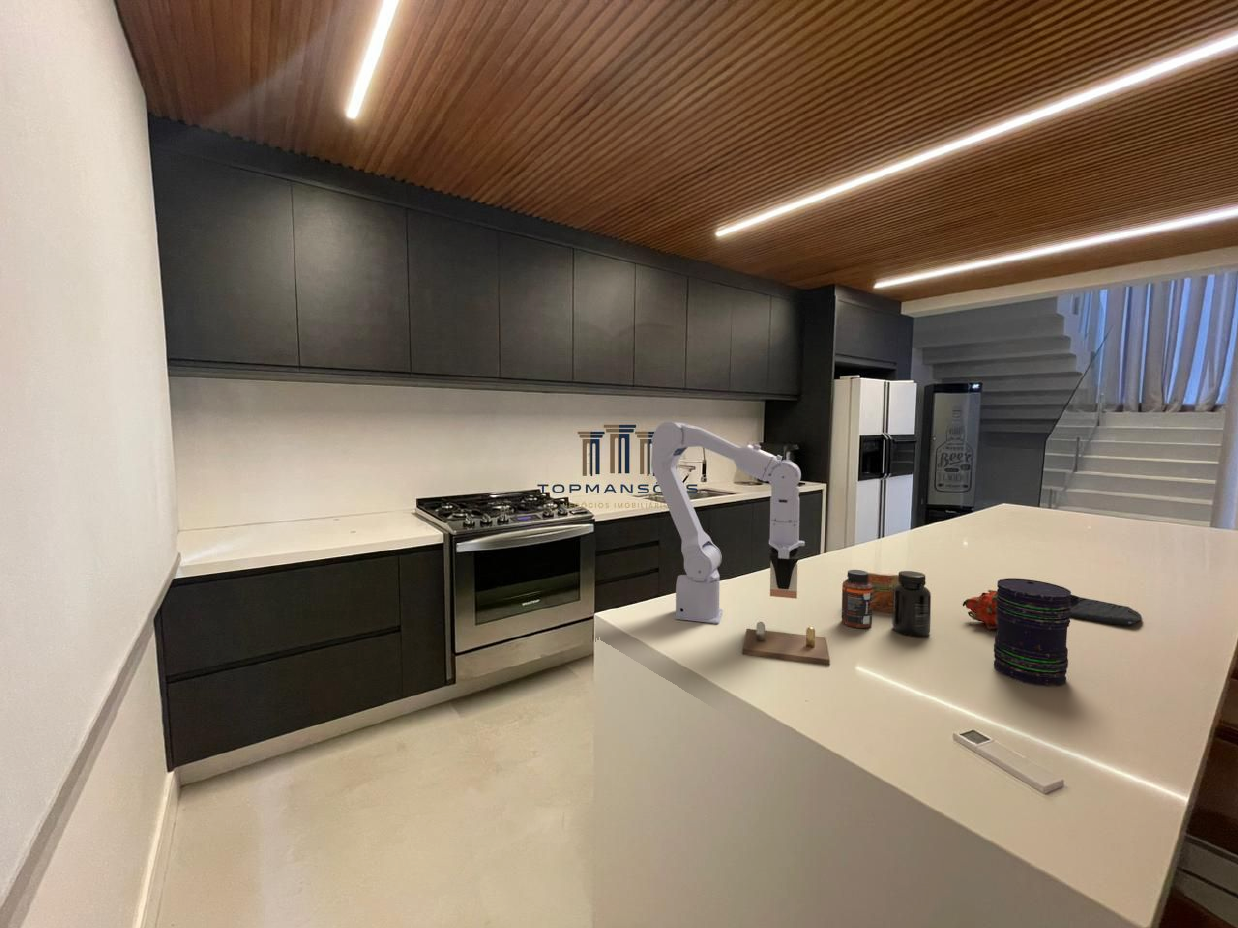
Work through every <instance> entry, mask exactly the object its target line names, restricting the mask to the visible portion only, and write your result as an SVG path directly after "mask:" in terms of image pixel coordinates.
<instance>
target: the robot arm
mask: <svg viewBox="0 0 1238 928" xmlns="http://www.w3.org/2000/svg"><path fill="white" fill-rule="evenodd" d="M650 439H651V440H650V441H651V445H652V451H651V461H650V462H651V463H650V467H651V471H652V473H653V475H654V477H655V479H656V482H657V484H658V487H659V490H660V491H661V493H662V496H663V499H664V501H665V504H666V507H667V508H668V511H669V513H670V515H671V518H672V521H673V522H674V525H675V527H676V529H677V532H678V533H679V537H680V539H681V545H680V546H681V547H680V548H681V549H680V550H681V554H682V557H683V570H684V572H685V573H686V574H682V575H681V574H680V575H678V576H677V579H676V585H675V588H676V589H675V617H674V618H675V620H683V621H691V622H699V623H700V622H702V623H709V624H719V623H720V621H721V618H722V615H723V612H724V609H722V608H720V573H719V571H718V568H719V567H720V565H721V563H722V558H723V557H722V553H721V549H720V548H719V547H717V545H715V544H714V543H713V541H712V539H711V537H710V536H709V534H708V533H706V532H705V531H704V529H703V527H702V524H701V522H700V519H699V517H698V515H697V513H696V510H695V508H694V506H693V503H692V501H691V498H690V496H689V494H688V492H687V490H686V487H685V485H684V484H685V483H683V480H682V477H681V475H680V473H679V470H678V468H677V466H678V464H679V461H680V459H681V457H682V454H683V453H684V452H686V450H687V449H688V448H689V447H690V448H693V447H701V448H703V449H705V450H708V451H710V452H713V453H715V454H717V455H719V456H722V457H724V458H727V459H729V460H732V461H733V463H734V464H735V466H736V469H737V470H739V471H741V472H743V473H745V474H747V475H749V476H752V477H753V478H756V479H758V480H760V481H763V482H768V483H769V485H770V489H771V492H770V493H771V494H770V495H771V496H770V497H769V501H770V502H769V503H770V505H769V508H770V509H769V539H768V545H769V550H770V551H771V552H769V556H768V557H769V560H770V561H771V562H772V564H773V567H774V571H775V576H776V582H777V587H778V589H789V586H790V582H791V577H792V572H793V569H794V567H795V565H796V563H797V564H798V560H799V556H798V555H797V552H798V551H799V547H804V546H805V541H804V540H799V539H800V537H799V536H800V497H799V495H800V490H799V489H800V487H799V485H798V484H799V483H800V480H801V478H802V473H801V469H800V467H799V466H798V464H796V463H794V462H793V461H792V460H788V459H784V460H782V458H783V456H781V455H780V454H777V456H776V455H774V454H772V453H770V452H767V451H764V450H763V449H761V448H762V446H761V445H759V444H754V445H752V444H746V445H744V446H742V447H741V446H739V445H737V444H736V443H732V442H731V441H729V440H727V439H725V438H723V437H721V436H719V435H717V434H714V433H712V432H711V431H709V430H706V429H704V428H702V427H699V426H696V425H692V424H688V423H687V422H685V421H677V422H675V421H674V422H673V421H663V422H662V423H660V424H659V425H658V426H657V427H656V429H655V431H654V433H653V434H652V437H651V438H650Z"/></svg>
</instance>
